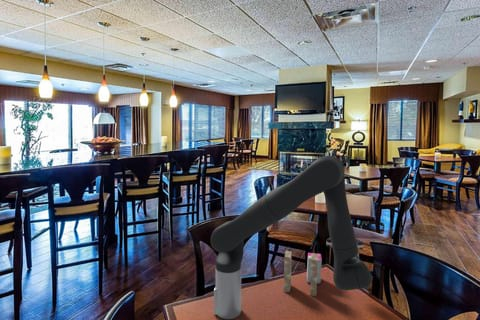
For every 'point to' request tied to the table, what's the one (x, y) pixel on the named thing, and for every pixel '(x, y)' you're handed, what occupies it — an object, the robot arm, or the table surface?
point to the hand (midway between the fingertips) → (342, 235)
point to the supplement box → (317, 268)
